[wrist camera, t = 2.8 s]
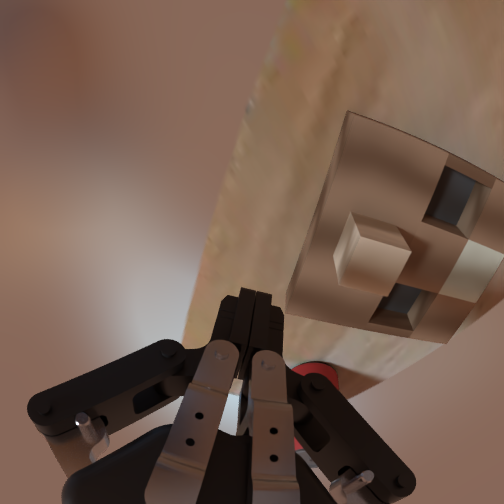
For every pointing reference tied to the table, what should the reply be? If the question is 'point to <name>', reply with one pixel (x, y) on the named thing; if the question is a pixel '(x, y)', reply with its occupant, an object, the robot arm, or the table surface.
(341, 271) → the maple block
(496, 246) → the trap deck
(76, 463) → the robot arm
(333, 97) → the table surface
